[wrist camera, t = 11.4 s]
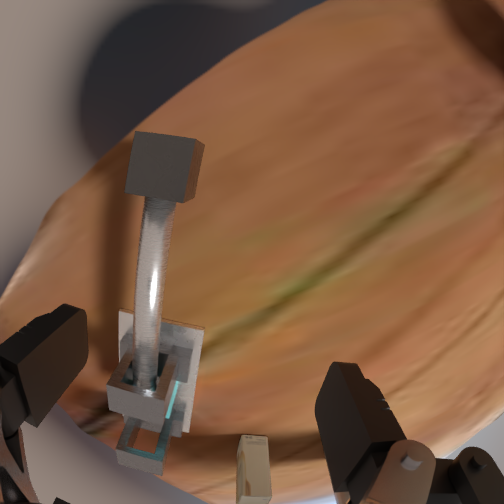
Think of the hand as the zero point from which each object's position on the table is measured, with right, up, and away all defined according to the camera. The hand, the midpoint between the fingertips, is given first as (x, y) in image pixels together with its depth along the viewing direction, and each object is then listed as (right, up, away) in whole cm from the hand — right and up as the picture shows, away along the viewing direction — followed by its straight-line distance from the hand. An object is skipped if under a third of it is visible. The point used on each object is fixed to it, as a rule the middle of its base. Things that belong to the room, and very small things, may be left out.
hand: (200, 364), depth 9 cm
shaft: (-8, +1, +20) cm, 22 cm away
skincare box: (+2, -29, +33) cm, 44 cm away
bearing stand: (-12, -14, +29) cm, 34 cm away
